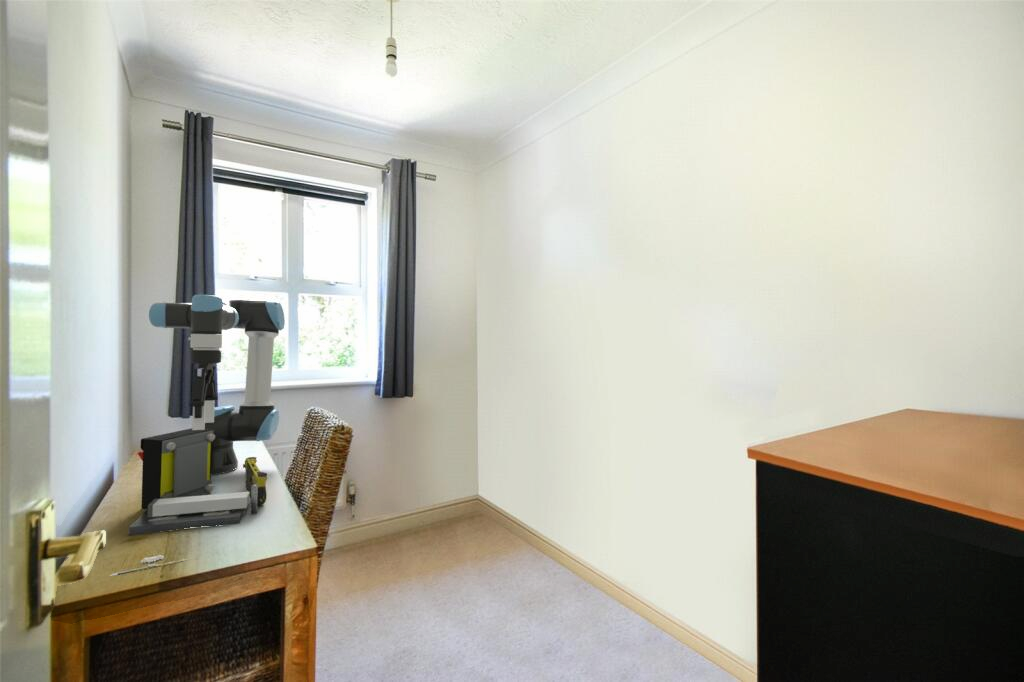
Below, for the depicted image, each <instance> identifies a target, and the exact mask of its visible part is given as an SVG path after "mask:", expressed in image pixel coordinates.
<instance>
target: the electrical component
mask: <svg viewBox="0 0 1024 682" xmlns="http://www.w3.org/2000/svg"><path fill="white" fill-rule="evenodd" d="M214 439H215V435H214V434H213V430H212V429H204V430H192V427H191V428H186V429H183V430H177V431H172V432H168V433H163V434H158V435H153V436H148V437H143V438H141V439H140V446H139V447H140V449H141V451H138V452H137V455H138V457H139V458H140V459H141V461H142V473H141V474H142V475H141V476H142V477H141V479H142V480H141V510H146V509H148V505H149V504H150V503H151V502H152V501H153V500H154V499H165V498H177V497H190V496H202V495H208V494H209V493H211V492H213V490H214V487H215V486H214V485H213V481H212V475H211V459H212V441H213V440H214Z"/></svg>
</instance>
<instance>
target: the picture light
mask: <svg viewBox="0 0 1024 682" xmlns="http://www.w3.org/2000/svg"><path fill="white" fill-rule="evenodd" d="M163 558H164V559H165V555H162V554H158V555H156V556H150V557H143V559H141V560H140V563H141V564H146V563H145V562H148V563H147V564H148V565H147V566H144V567H139V568H134V569H129V570H125V571H124V570H123V571H119V572H115V573H112V574H110V575H108V577H113V576H119V575H124V574H129V573H134V572H138V571H137V570H139V571H143V570H142V569H144V570H148V569H147V568H149V569H153V568H152V567H154V568H157V567H156V566H159V567H162V566H161V565H164V564H168V563H172V562H175V561H176V560H175V561H169V562H165V563H159V564H156V563H155V562H157V561H156V560H158V561H160V560H159V559H162V560H164V559H163ZM182 560H186V559H185V558H184V559H182ZM153 561H154V562H153ZM143 562H144V563H143ZM150 563H152V564H150ZM164 566H165V565H164Z"/></svg>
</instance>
